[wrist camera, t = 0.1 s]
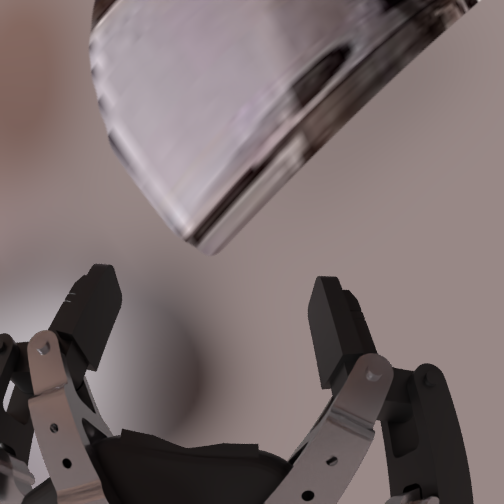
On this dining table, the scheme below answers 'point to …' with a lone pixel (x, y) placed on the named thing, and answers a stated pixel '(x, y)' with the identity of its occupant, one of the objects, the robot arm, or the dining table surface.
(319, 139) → the dining table surface
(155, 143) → the dining table surface
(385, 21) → the dining table surface
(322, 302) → the robot arm
